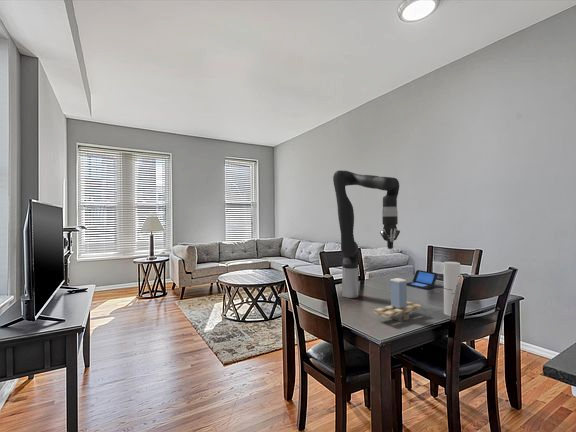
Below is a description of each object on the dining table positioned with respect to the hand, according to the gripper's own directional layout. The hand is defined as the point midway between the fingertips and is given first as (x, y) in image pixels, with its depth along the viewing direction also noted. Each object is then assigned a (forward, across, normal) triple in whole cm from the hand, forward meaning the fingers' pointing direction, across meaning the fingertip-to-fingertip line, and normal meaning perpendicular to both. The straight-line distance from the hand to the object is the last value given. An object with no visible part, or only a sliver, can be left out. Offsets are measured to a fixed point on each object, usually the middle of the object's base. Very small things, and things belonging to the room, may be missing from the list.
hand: (390, 248), depth 158 cm
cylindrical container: (+31, +17, -23) cm, 42 cm away
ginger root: (+31, -9, -12) cm, 34 cm away
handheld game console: (+32, +52, +20) cm, 64 cm away
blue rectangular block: (+27, -8, -12) cm, 31 cm away
